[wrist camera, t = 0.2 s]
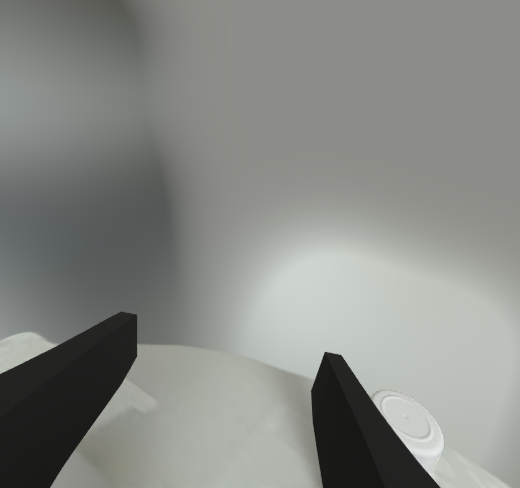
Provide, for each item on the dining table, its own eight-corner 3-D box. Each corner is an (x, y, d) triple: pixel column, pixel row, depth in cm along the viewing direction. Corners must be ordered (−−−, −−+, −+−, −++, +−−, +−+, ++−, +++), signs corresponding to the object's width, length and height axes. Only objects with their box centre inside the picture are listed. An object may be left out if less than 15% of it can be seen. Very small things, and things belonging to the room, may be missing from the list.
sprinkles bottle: (391, 587, 18) (460, 467, 14) (329, 555, 19) (374, 435, 15) (381, 508, 22) (431, 399, 18) (330, 486, 23) (366, 378, 19)
